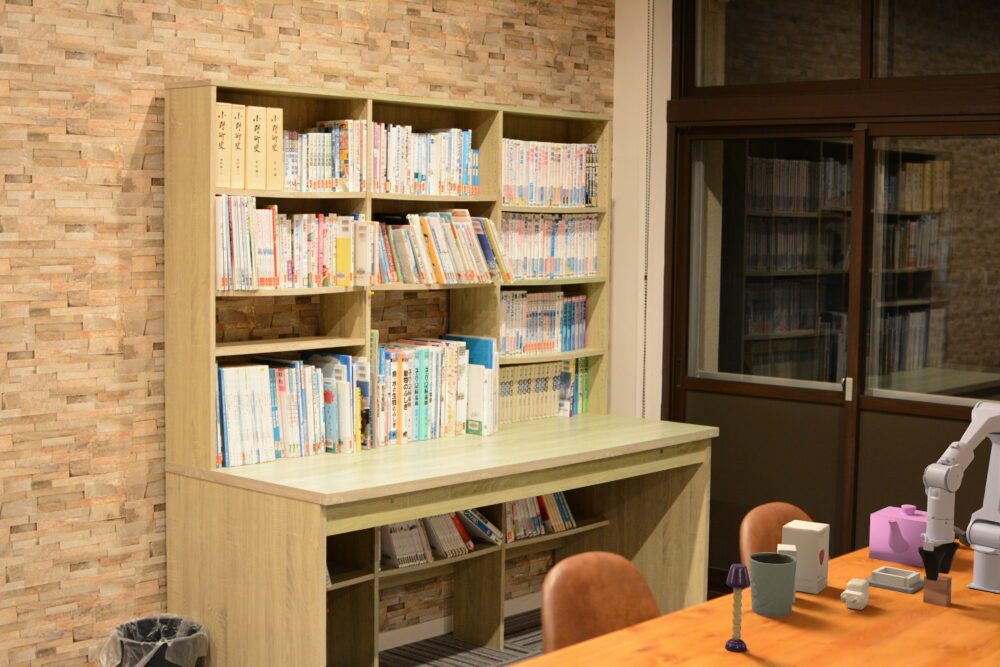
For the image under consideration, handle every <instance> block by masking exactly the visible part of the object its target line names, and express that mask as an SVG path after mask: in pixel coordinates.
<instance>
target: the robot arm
mask: <svg viewBox="0 0 1000 667" xmlns="http://www.w3.org/2000/svg"><path fill="white" fill-rule="evenodd" d="M986 437H987V438H989V439H990V442H991V444H992V446H991V451H990V458H989V464H988V470H987V471H988V472H987V478H986V481H985V482H986V484H985V491H984V495H983V496H984V497H983V503H982V507H981V508H980V509H978V510H976V511H975V512H973V513H971V518H970V522H969V523H968V526H967V528H966V531H967V532H966V531H965V532H966V535H967V540H968V542H969V544H971V545H970V549H972V550H974V551H973V569H972V570H973V573H972V582H970V583H968V584H967V585H966V588H970V589H975V590H980V591H986V592H991V593H996V594H1000V403H996V402H986V401H983V400H980V401H978V402H977V403H976V404H975V406H974V407H973V409H972V411H971V422H970V424H969V426H968V427H967V428H966V430H965V432H964V434H963V435H962V436H961V439H960V440H959V441H953V442H951V444H950V445H949V446H948V448H947V449H946V450H945V451H944V453H942V455H941V457H940V458H938V460H937V461H936V462H934V463H931V464H928V466H926V468H925V469H924V472H923V475H922V482H923V485H924V487H925V495H926V497H927V507H926V508H927V510H926V512H927V528H926V533H923V534H921V537H922V538H925V541H924V547H922V546H921V547H919V548H918V552H919V554H920V556H921V558H922V560H923V563H924V568H923V569H924V571H925V576H926V578H927V580H933V581H937V579H938V575H940V574H942V575H949V573H950V571H951V569H952V568H951V567H952V563H953V560H954V557H955V554H956V553H957V551H958V549H959V548H960V544H961V543H960V542H957V541H954V538H955V532H953V528H954V526H955V524H954V523H955V501H956V492H957V490H959V489H960V486H961V484H962V480H963V478H964V474H965V473H964V472H965V470H966V469H967V468H968V466H969V465H970V464H971V462H972V461H973V460H974V459H975V458H974V457H975V454H974V450H975V449H976V448H977V447H978V446H979V445H980V444H981V443H982V441H983V440H985V439H986ZM988 521H990V522H988ZM994 522H995V523H994ZM998 523H999V524H998Z"/></svg>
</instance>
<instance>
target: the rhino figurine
mask: <svg viewBox="0 0 1000 667" xmlns="http://www.w3.org/2000/svg"><path fill="white" fill-rule="evenodd" d="M953 532H955V538H954V542H956V541H955V540H958V541H959V543H960V544H962V545H964V546H965V547H967V548H971V544H969V542H968V540H967V535H966V532H967V530H966V531H964V530H962V529H960V527H958V526H955V525H954V528H953Z"/></svg>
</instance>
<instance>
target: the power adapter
mask: <svg viewBox="0 0 1000 667" xmlns="http://www.w3.org/2000/svg"><path fill="white" fill-rule="evenodd" d="M864 579H865V578H864ZM864 579H862V578H855V577H853V578H851V579H850V580H849V581H848V582H847V584H846V587H845V588H846V589H845V590H844V591H842V592H841V594H840V601H841V602H844V601H845V605H846V608H848V609H853V610H860V611H862V610H863V609H865V608H866V606H868V603H869V593H870V592H869V590H870V588H869V587H870V586H869V582H868V581H867V580H864Z"/></svg>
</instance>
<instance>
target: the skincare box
mask: <svg viewBox="0 0 1000 667" xmlns="http://www.w3.org/2000/svg"><path fill="white" fill-rule="evenodd" d="M776 549H777V550H776V553H782V554H787V555H791V556H793V557H795V558H796V559H797V550H796V546H795V545H785V544H782V543H777V548H776ZM794 578H795V581H794V591H793V600H792V604H795V602H796V591H795V585H796V571H795V577H794Z"/></svg>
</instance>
